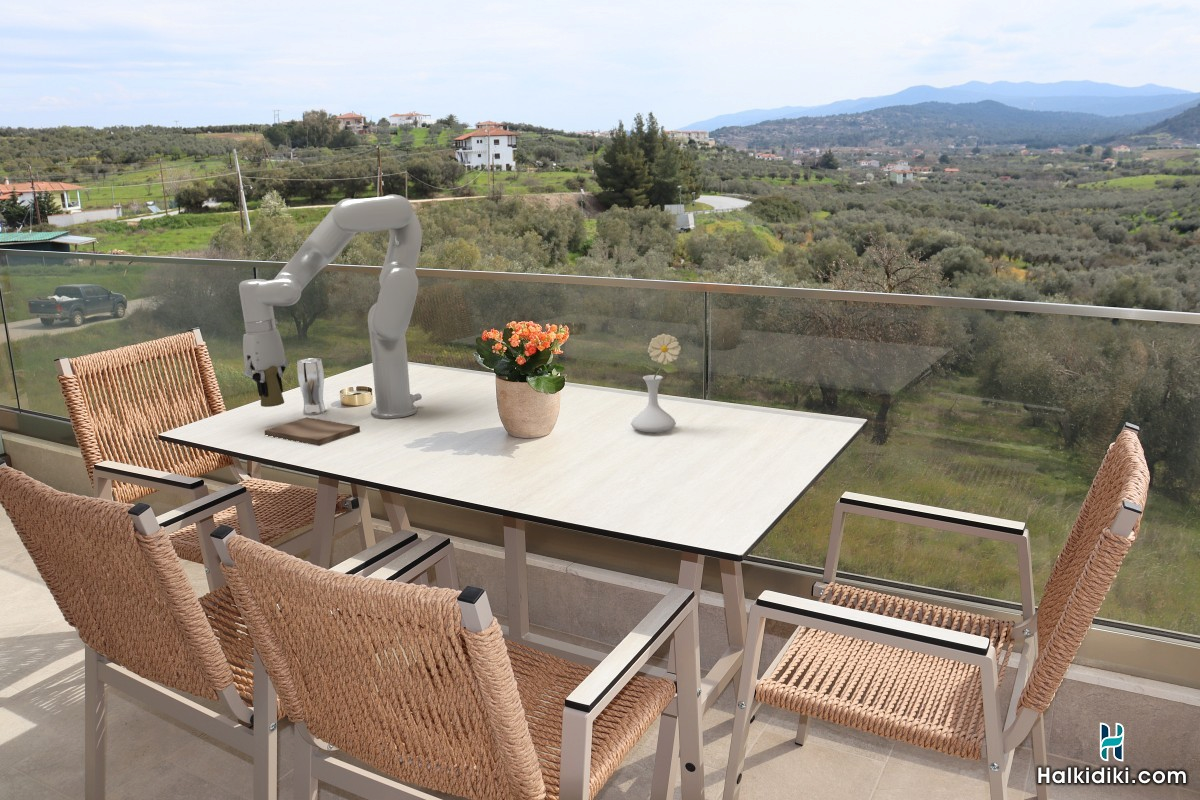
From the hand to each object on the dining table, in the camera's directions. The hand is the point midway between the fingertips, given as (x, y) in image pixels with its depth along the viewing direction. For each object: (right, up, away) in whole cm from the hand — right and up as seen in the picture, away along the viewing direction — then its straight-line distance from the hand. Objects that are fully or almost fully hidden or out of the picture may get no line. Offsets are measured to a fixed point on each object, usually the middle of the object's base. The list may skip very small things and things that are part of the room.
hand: (271, 393), depth 244 cm
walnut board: (+13, -10, -6) cm, 18 cm away
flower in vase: (+102, -10, -11) cm, 103 cm away
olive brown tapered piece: (0, -3, +1) cm, 3 cm away
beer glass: (+7, -5, +16) cm, 18 cm away
